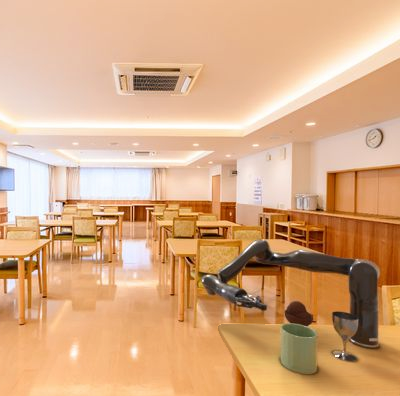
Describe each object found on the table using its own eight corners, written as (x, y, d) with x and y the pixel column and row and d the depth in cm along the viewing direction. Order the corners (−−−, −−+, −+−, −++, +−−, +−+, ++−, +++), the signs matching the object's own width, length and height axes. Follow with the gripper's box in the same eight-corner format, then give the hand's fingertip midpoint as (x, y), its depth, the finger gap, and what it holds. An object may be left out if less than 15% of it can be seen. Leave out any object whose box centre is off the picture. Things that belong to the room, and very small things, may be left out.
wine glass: (335, 359, 105) (335, 318, 105) (329, 348, 112) (329, 310, 112) (361, 363, 102) (362, 321, 102) (353, 352, 109) (353, 313, 109)
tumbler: (278, 353, 108) (278, 321, 108) (312, 358, 105) (312, 325, 105) (283, 370, 98) (283, 335, 98) (321, 376, 94) (321, 340, 94)
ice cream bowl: (318, 343, 116) (318, 306, 116) (288, 340, 118) (288, 304, 118) (308, 331, 126) (308, 297, 126) (280, 329, 128) (280, 295, 128)
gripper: (245, 301, 132) (277, 315, 116) (222, 305, 126) (252, 320, 110) (245, 284, 132) (277, 296, 116) (222, 288, 126) (252, 300, 110)
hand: (265, 308), depth 113 cm, fingers closed
